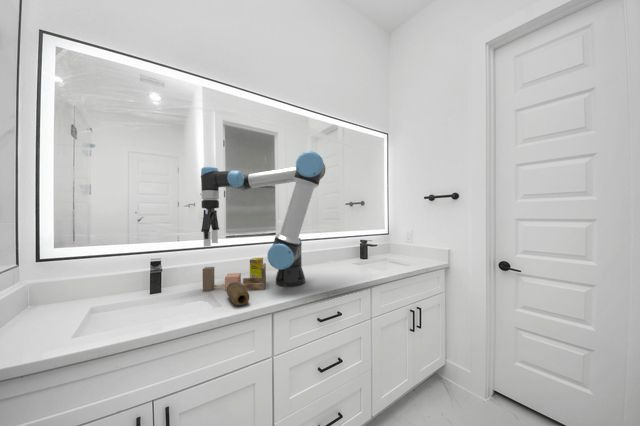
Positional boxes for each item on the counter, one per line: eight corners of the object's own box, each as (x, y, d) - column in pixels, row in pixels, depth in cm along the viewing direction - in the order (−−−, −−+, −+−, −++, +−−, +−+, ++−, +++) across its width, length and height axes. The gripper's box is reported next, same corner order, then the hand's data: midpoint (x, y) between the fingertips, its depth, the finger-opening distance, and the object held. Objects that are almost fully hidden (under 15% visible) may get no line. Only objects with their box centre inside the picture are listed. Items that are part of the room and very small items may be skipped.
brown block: (240, 285, 118) (240, 264, 118) (238, 289, 111) (238, 268, 111) (206, 287, 115) (206, 266, 115) (201, 291, 108) (201, 269, 108)
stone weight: (223, 298, 100) (223, 282, 100) (239, 295, 104) (239, 279, 104) (234, 309, 88) (234, 291, 88) (252, 305, 92) (252, 287, 92)
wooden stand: (265, 282, 122) (265, 263, 122) (264, 289, 111) (264, 268, 111) (243, 284, 120) (243, 264, 120) (239, 291, 109) (239, 269, 109)
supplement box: (260, 279, 128) (260, 259, 128) (249, 279, 128) (249, 259, 128) (263, 276, 134) (263, 257, 134) (252, 276, 134) (252, 257, 134)
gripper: (209, 201, 125) (209, 242, 125) (192, 198, 100) (193, 248, 100) (224, 201, 126) (225, 241, 126) (211, 197, 102) (212, 247, 102)
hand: (211, 244), depth 113 cm, fingers open, 13 cm apart
